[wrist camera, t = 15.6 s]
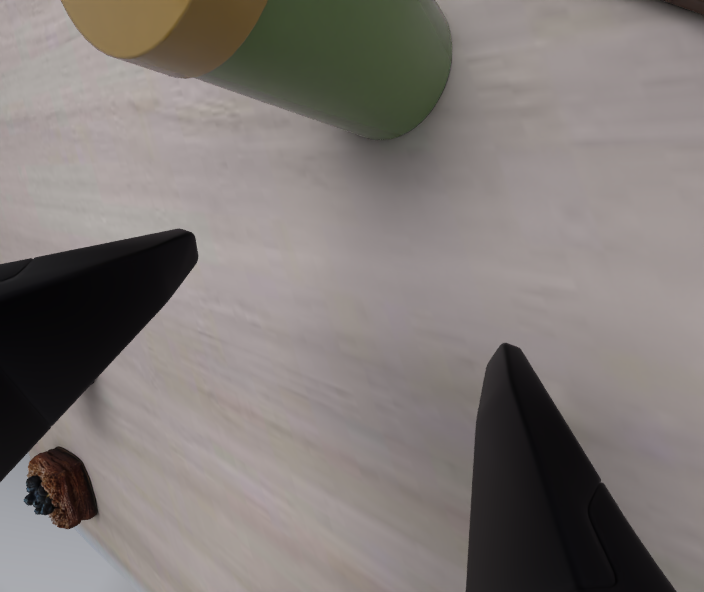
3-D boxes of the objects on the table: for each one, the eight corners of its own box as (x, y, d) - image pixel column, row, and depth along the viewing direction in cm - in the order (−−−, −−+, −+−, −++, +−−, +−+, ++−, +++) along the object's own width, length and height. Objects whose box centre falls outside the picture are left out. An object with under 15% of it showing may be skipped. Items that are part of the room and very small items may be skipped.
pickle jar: (487, 16, 14) (300, -479, 4) (405, 167, 18) (180, 112, 7) (366, -35, 16) (26, -459, 6) (312, 109, 20) (27, -2, 9)
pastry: (102, 520, 53) (56, 552, 48) (69, 498, 59) (25, 525, 54) (83, 456, 51) (32, 483, 46) (51, 441, 57) (3, 463, 53)
